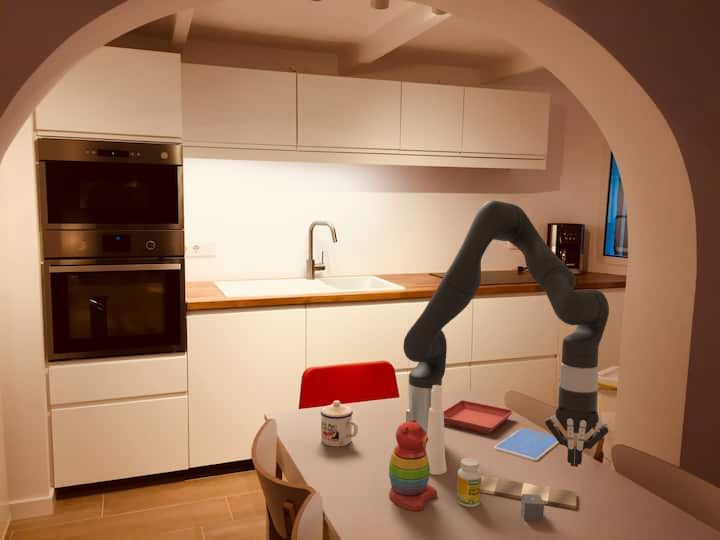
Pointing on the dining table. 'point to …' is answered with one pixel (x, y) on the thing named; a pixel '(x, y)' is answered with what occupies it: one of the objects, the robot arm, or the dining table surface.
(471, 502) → the supplement bottle
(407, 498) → the stacking bear
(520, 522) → the dining table surface
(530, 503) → the die
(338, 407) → the teacup with lid
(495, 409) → the plant saucer
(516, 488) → the track
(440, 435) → the cosmetic bottle
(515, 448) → the blue flat rectangular panel
